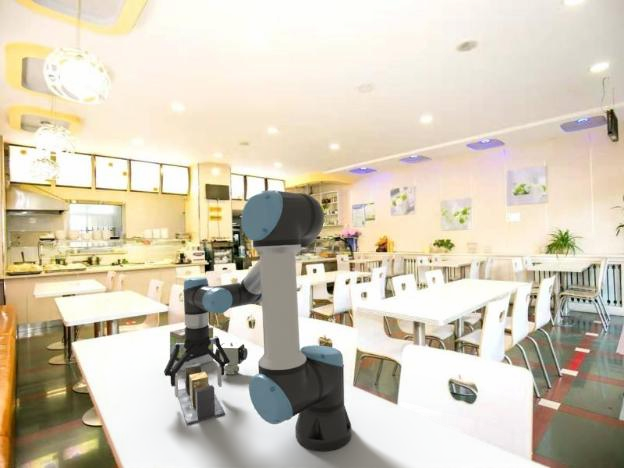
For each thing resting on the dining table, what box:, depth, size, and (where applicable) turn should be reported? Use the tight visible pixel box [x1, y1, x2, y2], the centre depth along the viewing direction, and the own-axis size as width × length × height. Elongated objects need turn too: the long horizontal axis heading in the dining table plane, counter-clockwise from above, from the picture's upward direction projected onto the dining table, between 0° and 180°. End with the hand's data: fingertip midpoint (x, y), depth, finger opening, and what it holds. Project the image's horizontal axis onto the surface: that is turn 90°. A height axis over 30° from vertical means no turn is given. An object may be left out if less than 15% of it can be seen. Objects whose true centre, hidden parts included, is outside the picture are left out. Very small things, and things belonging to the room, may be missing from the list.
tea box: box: [169, 326, 214, 372], centre depth 147 cm, size 15×10×15 cm, turn 143°
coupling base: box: [177, 363, 226, 426], centre depth 112 cm, size 24×11×9 cm, turn 28°
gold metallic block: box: [189, 371, 209, 405], centre depth 112 cm, size 8×5×8 cm, turn 29°
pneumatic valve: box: [214, 342, 248, 376], centre depth 136 cm, size 6×12×12 cm, turn 78°
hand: (198, 390), depth 112 cm, fingers open, 13 cm apart
